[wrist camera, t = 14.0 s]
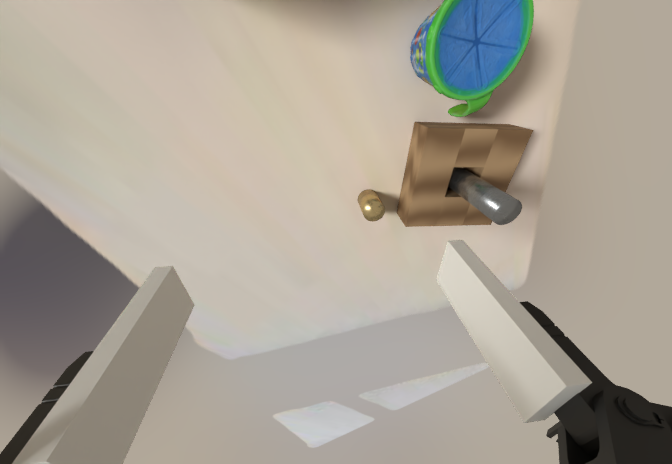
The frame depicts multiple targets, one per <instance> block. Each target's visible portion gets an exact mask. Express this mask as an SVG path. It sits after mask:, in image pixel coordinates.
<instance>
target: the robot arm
mask: <svg viewBox="0 0 672 464" xmlns="http://www.w3.org/2000/svg"><path fill="white" fill-rule="evenodd" d="M436 281H437V282H438V284H439V286H440V287H441V289H442V290H443V292H444V294H445V295H446V297H447V299H448V300H449V302H450V303H451V305H452V307H453V308H454V310H455V312H456V313H457V315H458V316H459V318H460V320H461V321H462V323H463V324H464V326H465V328H466V329H467V331H468V333H469V334H470V336H471V337H472V339H473V341H474V342H475V344H476V346H477V347H478V349H479V351H480V352H481V354H482V355H483V357H484V359H485V360H486V362H487V363H488V365H489V367H490V368H491V370H492V372H493V373H494V375H495V376H496V378H497V380H498V381H499V383H500V384H501V386H502V387H503V389H504V391H505V393H506V394H507V396H508V398H509V399H510V401H511V402H512V404H513V405H514V407H515V409H516V411H517V412H518V414H519V415H520V417H521V419H522V420H523V422H524V423H528V422H534V421H541V420H545V419H547V418H548V417H549V416H550V415H552V414H553V413H555V414H556V416H557V417H558V419H559V420H560V421H559V422H558V423H557V424H555V425H554V426H553V427H551V428H550V429H549V430H548V432H547V437H549V438H552V437H553V436H554V435H556V434H558V439H557V441H556V442H558V445H559V462H560V464H672V407H669V406H664V405H660V404H655V403H650V402H649V401H647V400H646V399H645V398H643V397H642V396H641V395H639V394H637V393H635V392H633V391H631V390H629V389H627V388H624V387H621V386H616V385H615V384H613V383H612V382H611V381H610V380H609V379H608V378H607V377H605V376H604V374H603V373H602V372H601V371H600V370H599V369H598V368H597V367H596V366H595V365H594V364H593V363H592V362H591V361H590V360H589V359H588V358H587V357H586V356H585V355H584V354H583V353H582V352H581V351H580V350H579V349H578V348H577V347H576V346H575V345H574V343H573V342H571V340H570V339H569V338H568V337H565V336H564V333H563V332H562V331H561V330H560V329H559V328H558V327H557V326H555V325H554V323H553V322H552V321H551V320H550V319H549V318H548V317H547V316H546V315H545V314H544V313H543V312H542V311H541V310H540V309H538V308H537V307H535V306H534V305H532V304H531V303H529V302H519V301H518V300H517V299H516V298H515V297H514V296H513V295H512V294H511V293H510V291H509V290H508V289H507V288H506V287H505V286H504V285H503V284H502V283H501V282H500V280H499V279H498V278H497V277H496V276H495V275H494V274H493V273H492V272H491V271H490V269H489V268H488V267H487V266H486V265H485V264H484V263H483V262H482V261H481V260H480V258H479V257H478V256H477V255H476V254H475V253H474V252H473V251H472V250H471V249H470V247H469V246H468V245H467V244H466V243H465V242H464V241H463V240H456V241H448V243H447V246H446V249H445V253H444V256H443V259H442V263H441V266H440V269H439V272H438V276H437V279H436ZM193 307H194V303H193V301H192V300H191V298H190V296H189V294H188V293H187V291H186V289H185V287H184V285H183V284H182V282H181V280H180V278H179V276H178V275H177V273H176V271H175V269H174V267H173V266H166V267H155V268H154V270H153V271H152V272H151V274H150V275H149V276H148V278H147V279H146V281H145V282H144V283H143V285H142V286H141V287H140V289H139V290H138V292H137V293H136V294H135V296H134V297H133V298H132V300H131V301H130V303H129V304H128V305H127V307H126V308H125V309H124V311H123V312H122V313H121V315H120V316H119V318H118V319H117V320H116V322H115V323H114V325H113V326H112V327H111V329H110V330H109V331H108V333H107V334H106V336H105V337H104V338H103V339H102V341H101V342H100V344H99V345H98V346H97V348H96V349H95V350H94V351H91V352H85V353H84V354H83V355H81V356H80V357H79V358H78V359H77V360H76V361H75V362H73V363H72V364H71V365H70V366H69V367H68V368H67V369H66V370H65V371H64V373H63V374H62V375H61V377H60V378H59V379H58V380H57V382H56V383H55V384H54V388H53V389H50V391H49V392H48V393H47V395H46V396H45V397H44V399H43V400H42V403H41V404H39V405H38V406H37V407H36V409H35V410H34V411H33V413H32V414H31V415H30V416H29V418H28V419H27V420H26V422H25V423H24V424H23V426H22V427H21V428H20V429H19V431H18V432H17V433H16V434H15V436H14V437H13V438H12V440H11V441H10V442H9V444H8V445H7V446H6V447H5V449H4V450H3V451H2V452H1V454H0V464H123V462H124V459H125V457H126V455H127V453H128V451H129V448H130V446H131V444H132V442H133V440H134V437H135V435H136V433H137V431H138V429H139V426H140V424H141V422H142V420H143V418H144V415H145V413H146V411H147V409H148V406H149V404H150V402H151V400H152V398H153V395H154V393H155V391H156V389H157V387H158V384H159V382H160V380H161V378H162V376H163V373H164V371H165V369H166V366H167V364H168V362H169V360H170V358H171V356H172V353H173V351H174V349H175V346H176V345H177V342H178V340H179V338H180V336H181V333H182V331H183V329H184V327H185V325H186V322H187V320H188V318H189V316H190V314H191V311H192V309H193Z"/></svg>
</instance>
